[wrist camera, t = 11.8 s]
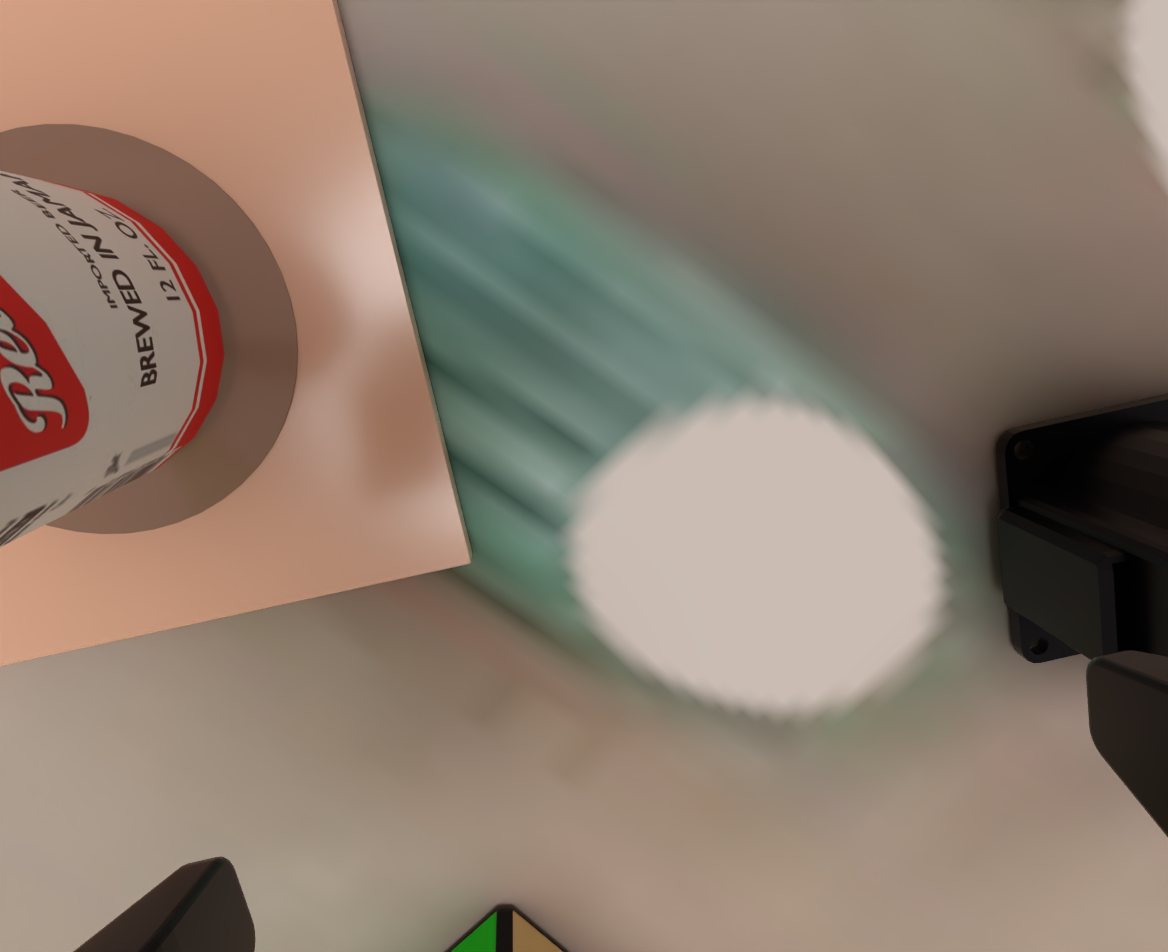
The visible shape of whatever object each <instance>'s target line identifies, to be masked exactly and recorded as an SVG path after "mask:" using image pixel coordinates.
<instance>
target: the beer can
mask: <svg viewBox="0 0 1168 952" xmlns="http://www.w3.org/2000/svg"><path fill="white" fill-rule="evenodd" d="M224 355H225V354H224V347H223V340H222V333H221V326H220V319H219V313H218V309H217V307H216V305H215V303H214V301H213V298H212V296H211V294H210V292H209V290H208V288H207V286H206V284H205V282H204V280H203V278H202V276H201V273H200V271H199V269H198V267H197V266H196V265H195V264H194V263H193V261H192V260H191V259H190V258H189V257H188V256H187V255H186V254H185V253H184V252H183V250H182V249H181V248H180V247H179V246H178V245H177V244H176V243H175V242H174V240H173V239H172V238H171V237H170V236H169V235H168V234H167V233H166V232H165V231H164V229H163V228H162V227H160V226H158V225H157V224H155V223H153V222H152V221H150V220H149V219H147V218H145V217H144V216H142V215H140V214H139V213H137V212H136V211H134V210H132V209H131V208H129V207H128V206H126V205H124V204H123V203H121V202H119V201H118V200H116V199H113V198H110V197H106V196H103V195H99V194H95V193H92V192H88V191H84V190H80V189H77V188H73V187H69V186H66V185H62V184H58V183H53V182H49V181H44V180H40V179H35V178H31V177H26V176H22V175H17V174H13V173H8V172H4V171H0V547H2V546H4V545H6V544H8V543H10V542H12V541H14V540H16V539H18V538H20V537H22V536H24V535H26V534H28V533H30V532H32V531H34V530H36V529H38V528H40V527H42V526H44V525H46V524H48V523H50V522H52V521H54V520H56V519H58V518H60V517H62V516H64V515H66V514H68V513H70V512H72V511H74V510H76V509H78V508H80V507H82V506H83V505H85V504H87V503H89V502H91V501H93V500H95V499H97V498H99V497H101V496H103V495H105V494H107V493H109V492H111V491H113V490H115V489H117V488H119V487H121V486H123V485H125V484H127V483H129V482H131V481H133V480H135V479H137V478H139V477H141V476H143V475H145V474H147V473H149V472H151V471H153V470H155V469H157V468H159V467H160V466H161V465H163V464H164V463H165V462H166V461H167V460H168V459H170V458H171V457H172V456H173V455H174V454H175V453H177V452H178V451H179V450H180V449H181V448H182V447H184V446H185V445H186V444H187V443H188V442H190V441H191V440H192V439H193V438H194V437H195V436H196V434H197V432H198V431H199V429H200V427H201V425H202V424H203V422H204V420H205V418H206V417H207V415H208V413H209V411H210V410H211V408H212V406H213V404H214V403H215V401H216V399H217V394H218V388H219V383H220V377H221V372H222V366H223V361H224Z"/></svg>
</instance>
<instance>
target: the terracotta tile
mask: <svg viewBox="0 0 1168 952" xmlns="http://www.w3.org/2000/svg"><path fill="white" fill-rule="evenodd" d="M0 171H4V172H8V173H13V174H17V175H22V176H26V177H31V178H35V179H40V180H44V181H49V182H53V183H58V184H62V185H66V186H69V187H73V188H77V189H80V190H84V191H88V192H92V193H95V194H99V195H103V196H106V197H110V198H113V199H116V200H118V201H119V202H121V203H123V204H124V205H126V206H128V207H129V208H131V209H132V210H134V211H136V212H137V213H139V214H140V215H142V216H144V217H145V218H147V219H149V220H150V221H152V222H153V223H155V224H157V225H158V226H160V227H162V228H163V229H164V231H165V232H166V233H167V234H168V235H169V236H170V237H171V238H172V239H173V240H174V242H175V243H176V244H177V245H178V246H179V247H180V248H181V249H182V250H183V252H184V253H185V254H186V255H187V256H188V257H189V258H190V259H191V260H192V261H193V263H194V264H195V265H196V266H197V267H198V269H199V271H200V273H201V276H202V278H203V280H204V282H205V284H206V286H207V288H208V290H209V292H210V294H211V296H212V298H213V301H214V303H215V305H216V307H217V309H218V313H219V319H220V326H221V333H222V340H223V347H224V354H225V355H224V361H223V366H222V372H221V377H220V383H219V388H218V394H217V399H216V401H215V403H214V404H213V406H212V408H211V410H210V411H209V413H208V415H207V417H206V418H205V420H204V422H203V424H202V425H201V427H200V429H199V431H198V432H197V434H196V436H195V437H194V438H193V439H192V440H191V441H190V442H188V443H187V444H186V445H185V446H184V447H182V448H181V449H180V450H179V451H178V452H177V453H175V454H174V455H173V456H172V457H171V458H170V459H168V460H167V461H166V462H165V463H164V464H163V465H161V466H160V467H159V468H157V469H155V470H153V471H151V472H149V473H147V474H145V475H143V476H141V477H139V478H137V479H135V480H133V481H131V482H129V483H127V484H125V485H123V486H121V487H119V488H117V489H115V490H113V491H111V492H109V493H107V494H105V495H103V496H101V497H99V498H97V499H95V500H93V501H91V502H89V503H87V504H85V505H83V506H82V507H80V508H78V509H76V510H74V511H72V512H70V513H68V514H66V515H64V516H62V517H60V518H58V519H56V520H54V521H52V522H50V523H48V524H46V525H44V526H42V527H40V528H38V529H36V530H34V531H32V532H30V533H28V534H26V535H24V536H22V537H20V538H18V539H16V540H14V541H12V542H10V543H8V544H6V545H4V546H2V547H0V666H3V665H7V664H12V663H17V662H21V661H26V660H30V659H35V658H39V657H44V656H49V655H53V654H58V653H62V652H67V651H72V650H76V649H81V648H85V647H90V646H94V645H99V644H104V643H108V642H113V641H117V640H122V639H127V638H131V637H136V636H140V635H145V634H149V633H154V632H159V631H163V630H168V629H172V628H177V627H182V626H186V625H191V624H195V623H200V622H204V621H209V620H214V619H218V618H223V617H227V616H232V615H237V614H241V613H246V612H250V611H255V610H259V609H264V608H269V607H273V606H278V605H282V604H287V603H292V602H296V601H301V600H305V599H310V598H314V597H319V596H324V595H328V594H333V593H337V592H342V591H347V590H351V589H356V588H360V587H365V586H369V585H374V584H379V583H383V582H388V581H392V580H397V579H401V578H406V577H411V576H415V575H420V574H424V573H429V572H434V571H438V570H443V569H447V568H452V567H456V566H461V565H466V564H470V563H471V559H472V550H471V546H470V541H469V537H468V533H467V529H466V525H465V521H464V517H463V513H462V509H461V505H460V501H459V497H458V493H457V488H456V484H455V480H454V476H453V472H452V468H451V464H450V460H449V456H448V452H447V448H446V444H445V440H444V435H443V431H442V427H441V423H440V419H439V415H438V411H437V407H436V403H435V399H434V395H433V391H432V387H431V382H430V378H429V374H428V370H427V366H426V362H425V358H424V354H423V350H422V346H421V342H420V338H419V334H418V330H417V325H416V321H415V317H414V313H413V309H412V305H411V301H410V297H409V293H408V289H407V285H406V281H405V277H404V272H403V268H402V264H401V260H400V256H399V252H398V248H397V244H396V240H395V236H394V232H393V228H392V224H391V219H390V215H389V211H388V207H387V203H386V199H385V195H384V191H383V187H382V183H381V179H380V175H379V171H378V166H377V162H376V158H375V154H374V150H373V146H372V142H371V138H370V134H369V130H368V126H367V122H366V118H365V113H364V109H363V105H362V101H361V97H360V93H359V89H358V85H357V81H356V77H355V73H354V69H353V65H352V60H351V56H350V52H349V48H348V44H347V40H346V36H345V32H344V28H343V24H342V20H341V16H340V12H339V7H338V3H337V0H0Z"/></svg>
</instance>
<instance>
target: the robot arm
mask: <svg viewBox="0 0 1168 952" xmlns="http://www.w3.org/2000/svg"><path fill="white" fill-rule="evenodd" d="M1022 440H1023V443H1024V449H1023V451H1022V452H1021V454H1020V455H1018V456H1015V453H1014V449H1015V446H1016V445H1017V443H1018V442H1020V441H1022ZM996 455H997V467H998V478H999V490H1000V501H1001V512H1000V514H999V516H998V519H997V528H998V539H999V550H1000V561H1001V573H1002V584H1003V595H1004V602H1005V604H1006V605H1007V606H1009V607H1010V615H1011V627H1012V638H1013V645H1014V649H1015V650H1016V652H1017V653H1018V654H1019V655H1021V656H1022V657H1023V658H1025V659H1026V660H1028V661H1030V662H1033V663H1042V662H1046V661H1050V660H1055V659H1059V658H1064V657H1068V656H1072V655H1077V654H1083V655H1084V656H1086V657H1087V658H1089V659H1090V660H1091V661H1090V662H1089V664H1088V666H1087V669H1086V681H1087V697H1088V712H1089V727H1090V733H1091V736H1092V739H1093V742H1094V744H1095V746H1096V748H1097V750H1098V751H1099V753H1100V754H1101V756H1102V757H1103V758H1104V759H1105V761H1106V762H1107V763H1108V764H1109V766H1110V767H1111V768H1112V769H1113V771H1114V772H1115V773H1116V774H1117V775H1118V777H1119V778H1120V779H1121V780H1122V782H1123V783H1124V784H1125V785H1126V786H1127V788H1128V789H1129V790H1130V791H1131V793H1132V794H1133V795H1134V796H1135V798H1136V799H1137V800H1138V801H1139V802H1140V804H1141V805H1142V806H1143V807H1144V809H1145V810H1146V811H1147V812H1148V813H1149V815H1150V816H1151V817H1152V818H1153V820H1154V821H1155V822H1156V823H1157V825H1158V826H1159V827H1160V828H1161V829H1162V831H1163V832H1164V833H1165V834H1166V836H1167V837H1168V395H1164V396H1159V397H1155V398H1150V399H1146V400H1141V401H1136V402H1132V403H1127V404H1123V405H1118V406H1113V407H1109V408H1104V409H1100V410H1095V411H1090V412H1086V413H1081V414H1077V415H1072V416H1067V417H1063V418H1058V419H1054V420H1049V421H1044V422H1040V423H1035V424H1031V425H1026V426H1021V427H1017V428H1013V429H1010V430H1008V431H1006V432H1005V433H1004V434H1003V435H1002V436H1001V437H1000V438H999V440H998V442H997V447H996ZM1038 637H1040V638H1039V643H1038V644H1037V645H1036V646H1035V647H1033V648H1030V646H1031V643H1032V642H1033V640H1034V639H1036V638H1038ZM254 950H255V930H254V924H253V921H252V917H251V915H250V912H249V909H248V906H247V903H246V900H245V897H244V894H243V892H242V889H241V886H240V883H239V880H238V877H237V874H236V871H235V869H234V867H233V865H232V863H231V862H230V861H229V860H228V859H226V858H224V857H215V858H210V859H206V860H202V861H197V862H193V863H188V864H186V865H184V866H182V867H180V868H179V869H178V870H176V871H175V872H174V873H173V874H171V875H170V876H169V877H167V878H166V879H165V880H164V881H162V882H161V883H160V884H159V885H157V886H156V887H155V888H154V889H152V890H151V891H150V892H148V893H147V894H146V895H145V896H143V897H142V898H141V899H140V900H138V901H137V902H136V903H135V904H133V905H132V906H131V907H129V908H128V909H127V910H126V911H124V912H123V913H122V914H121V915H119V916H118V917H117V918H116V919H114V920H113V921H112V922H110V923H109V924H108V925H107V926H105V927H104V928H103V929H102V930H100V931H99V932H98V933H97V934H95V935H94V936H93V937H91V938H90V939H89V940H88V941H86V942H85V943H84V944H83V945H81V946H80V947H79V948H78V949H76V950H75V951H74V952H254Z"/></svg>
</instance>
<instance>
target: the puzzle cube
mask: <svg viewBox="0 0 1168 952" xmlns="http://www.w3.org/2000/svg"><path fill="white" fill-rule="evenodd" d="M451 952H563V951H562V950H560V949H559V948H558V947H557V946H556V945H554V944H553V943H552V942H551V941H550V940H548V939H547V938H546V937H545V936H544V935H542V934H541V933H540V932H539V931H538V930H536V929H535V928H534V927H533V926H531V925H530V924H529V923H528V922H527V921H525V920H524V919H523V918H522V917H521V916H519V915H518V914H517V913H516V912H515V911H513V910H508V909H503V910H498V911H496V912H495V913H494V914H492V915H491V916H490V917H489V918H488V919H487V920H486V921H485V922H483V923H482V924H481V925H480V926H479V927H478V928H477V929H476V930H474V931H473V932H472V933H471V934H470V935H469V936H468V937H467V938H465V939H464V940H463V941H462V942H461V943H460V944H459V945H457V946H456V947H455V948H454V949H453V950H452V951H451Z"/></svg>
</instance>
